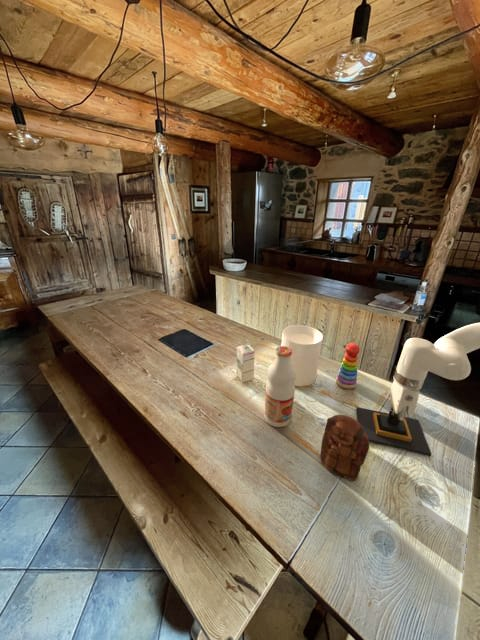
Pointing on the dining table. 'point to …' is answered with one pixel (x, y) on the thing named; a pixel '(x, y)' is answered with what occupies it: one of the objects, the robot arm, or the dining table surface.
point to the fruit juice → (280, 389)
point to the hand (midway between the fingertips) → (392, 422)
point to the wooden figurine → (344, 446)
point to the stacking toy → (349, 367)
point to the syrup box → (245, 362)
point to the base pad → (409, 441)
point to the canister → (303, 351)
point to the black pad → (391, 425)
